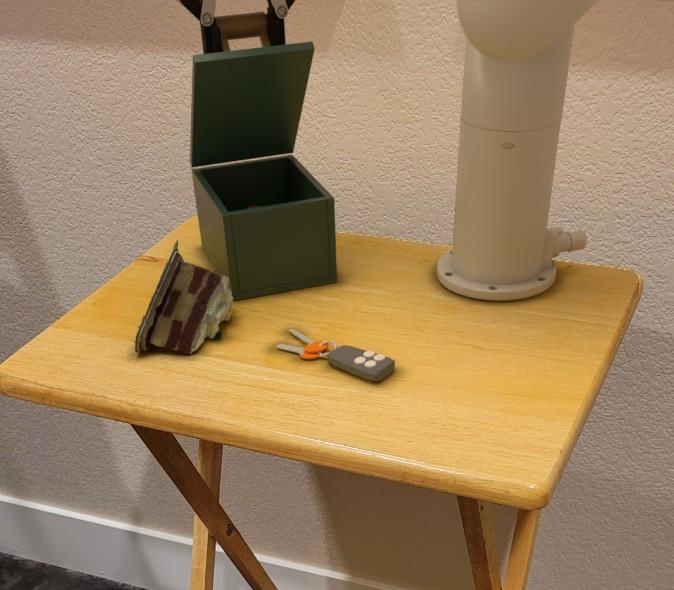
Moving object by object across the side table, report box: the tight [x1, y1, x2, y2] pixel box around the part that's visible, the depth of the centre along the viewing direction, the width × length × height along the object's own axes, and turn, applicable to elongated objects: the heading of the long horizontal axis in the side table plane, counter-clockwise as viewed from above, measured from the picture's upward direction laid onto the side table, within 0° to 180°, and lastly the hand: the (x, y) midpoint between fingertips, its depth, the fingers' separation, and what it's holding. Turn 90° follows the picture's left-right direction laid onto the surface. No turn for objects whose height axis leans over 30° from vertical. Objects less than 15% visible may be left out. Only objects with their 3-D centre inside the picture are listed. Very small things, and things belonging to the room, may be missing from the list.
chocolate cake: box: [134, 239, 234, 355], centre depth 87 cm, size 10×7×12 cm
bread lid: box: [189, 11, 315, 169], centre depth 90 cm, size 16×12×6 cm
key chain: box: [276, 328, 396, 382], centre depth 82 cm, size 13×4×2 cm, turn 52°
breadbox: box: [191, 154, 338, 302], centre depth 95 cm, size 15×12×9 cm
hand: (246, 65), depth 86 cm, fingers closed on bread lid, 5 cm apart
